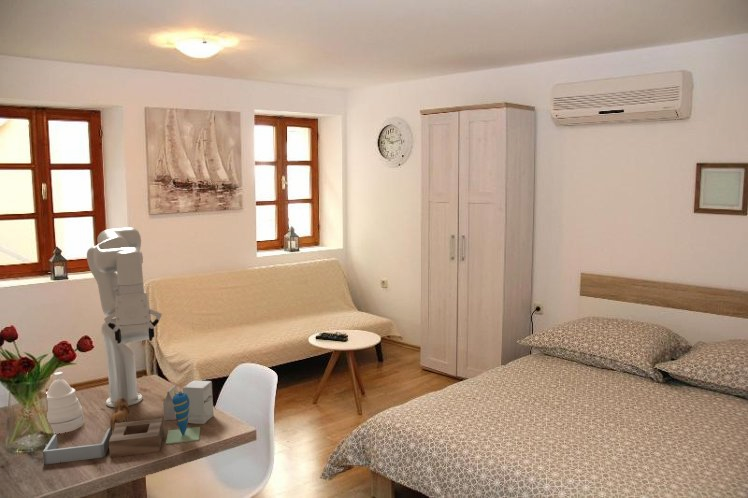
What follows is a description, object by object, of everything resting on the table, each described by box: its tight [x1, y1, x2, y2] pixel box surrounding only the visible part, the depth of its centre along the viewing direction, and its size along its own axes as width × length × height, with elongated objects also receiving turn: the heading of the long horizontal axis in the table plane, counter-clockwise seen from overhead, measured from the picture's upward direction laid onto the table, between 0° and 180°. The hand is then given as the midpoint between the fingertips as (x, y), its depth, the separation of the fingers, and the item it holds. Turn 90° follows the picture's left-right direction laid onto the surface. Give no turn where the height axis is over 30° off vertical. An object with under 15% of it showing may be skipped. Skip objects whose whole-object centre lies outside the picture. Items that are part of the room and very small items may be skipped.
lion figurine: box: [109, 398, 130, 435], centre depth 207 cm, size 15×5×9 cm, turn 14°
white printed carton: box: [163, 384, 180, 421], centre depth 217 cm, size 4×7×10 cm, turn 177°
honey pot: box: [45, 371, 85, 435], centre depth 211 cm, size 13×13×18 cm
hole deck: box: [108, 417, 165, 458], centre depth 195 cm, size 14×14×5 cm
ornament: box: [172, 389, 189, 435], centre depth 200 cm, size 5×5×15 cm
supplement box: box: [182, 380, 214, 425], centre depth 213 cm, size 7×7×13 cm
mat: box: [165, 426, 201, 445], centre depth 201 cm, size 10×10×1 cm
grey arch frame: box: [42, 427, 111, 465], centre depth 192 cm, size 12×17×4 cm
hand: (135, 341), depth 202 cm, fingers open, 9 cm apart
